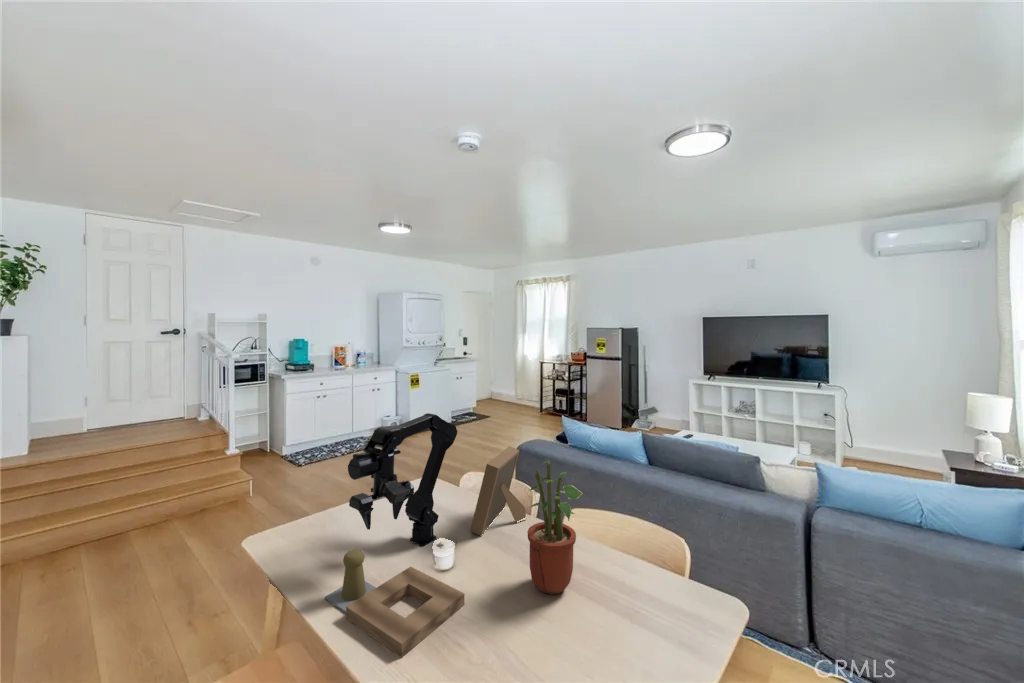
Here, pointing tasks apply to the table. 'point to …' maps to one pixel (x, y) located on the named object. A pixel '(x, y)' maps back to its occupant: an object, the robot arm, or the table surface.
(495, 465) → the photo frame
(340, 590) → the grey mat
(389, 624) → the walnut holder block
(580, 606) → the table surface
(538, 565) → the potted plant
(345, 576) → the olive green pawn
